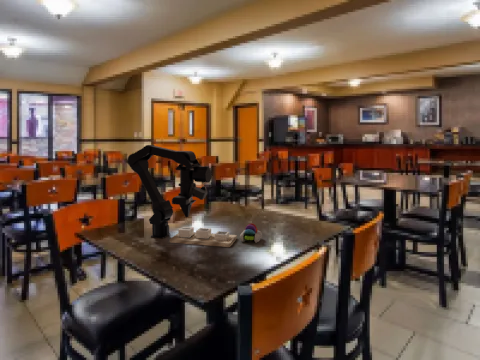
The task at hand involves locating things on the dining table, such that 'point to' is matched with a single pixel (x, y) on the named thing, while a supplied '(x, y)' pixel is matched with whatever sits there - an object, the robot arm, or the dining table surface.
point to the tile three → (222, 236)
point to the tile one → (186, 231)
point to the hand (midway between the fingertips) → (186, 217)
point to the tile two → (203, 233)
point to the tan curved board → (204, 240)
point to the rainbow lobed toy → (251, 233)
